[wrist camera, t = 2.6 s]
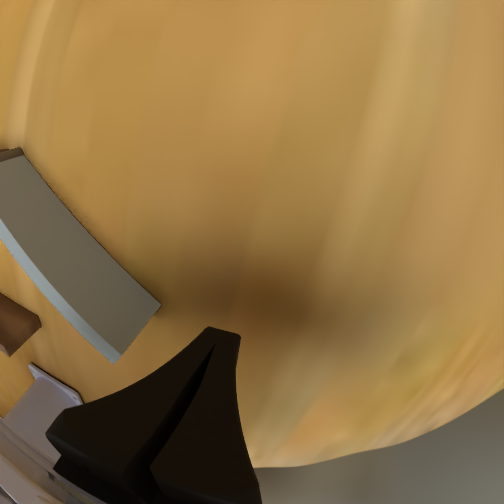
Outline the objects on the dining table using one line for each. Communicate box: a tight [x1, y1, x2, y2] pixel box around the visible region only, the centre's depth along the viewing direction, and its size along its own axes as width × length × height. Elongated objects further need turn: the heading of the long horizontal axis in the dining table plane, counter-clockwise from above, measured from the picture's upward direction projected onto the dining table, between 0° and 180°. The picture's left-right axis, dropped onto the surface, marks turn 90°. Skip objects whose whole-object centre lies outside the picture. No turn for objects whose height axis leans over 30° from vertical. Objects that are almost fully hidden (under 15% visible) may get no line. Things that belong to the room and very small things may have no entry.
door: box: [0, 148, 161, 364], centre depth 12 cm, size 14×1×5 cm, turn 47°
